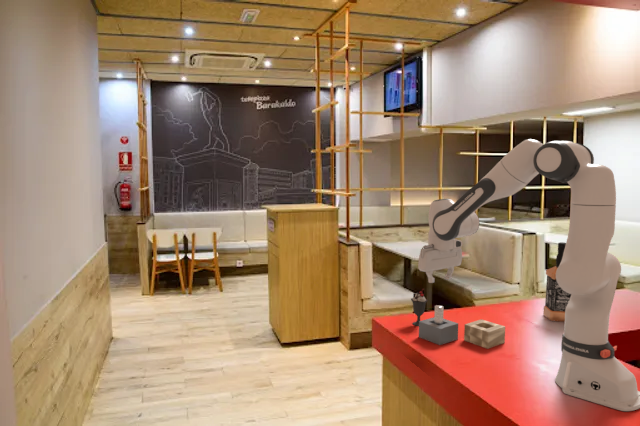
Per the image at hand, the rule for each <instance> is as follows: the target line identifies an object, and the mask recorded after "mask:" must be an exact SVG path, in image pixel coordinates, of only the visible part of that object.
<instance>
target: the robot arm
mask: <svg viewBox="0 0 640 426" xmlns="http://www.w3.org/2000/svg"><path fill="white" fill-rule="evenodd" d="M538 175H541V176H543V177H545V178H547V179H549V180H553V181H556V182H560V183H562V184H565V183H567V184H568V185H569V187H570V209H569V210H570V211H569V223H568V225H569V228H568V233H567V239H566V241H565V243H566V245H565V249H564V253H563V257H562V261H561V263H560V265H559V267H558V268H557V271H556V280H557V283H558V285H559V286H560V287H561V289H563V290H564V291H565V292H567V293H569V294H571V297H570V300H569V303H568V305H567V306H566V309H565V322H564V327H563V328H564V329H563V334H562V336H561V345H560V346H561V350H560V351H561V359H560V363H559V368H558V370H557V371H558V372H557V373H556V376H555V378H554V381H555V383H556V384H557V385H558V386H559V387H560V389H561V390H562V393H564V394H565V395H568V396H572V397H575V398H578V399H582V400H584V401H588V402H590V403H591V402H592V403H594V404H598V405H601V406H605V407H608V408H611V409H614V410H618V411H621V412H632V411H635V410H639V409H640V391H639V390H638V383H637V380H636V379H637V378H636V376H635V374H634V373H633V372H631V371H630V370H629V369H628V368H627V367H626V366H625V365H624V364H623V363H622V362H621V361H620V360H619V359H617V358H616V357H615V352H616V351H617V348H618V345H614V346H613V345H612V344H611V343H610V341H609V326H610V314H611V310H612V306H613V302H614V298H615V294H616V290H617V285H618V281H619V278H620V275H621V271H622V265H621V263H620V261H619V259H618V258H617V257H616V256H615V255H614V254H612V253H610V252H608V251H609V248H610V244H611V241H612V239H613V237H614V235H615V228H616V227H615V225H616V223H615V222H616V207H617V205H616V204H617V192H616V191H617V189H616V180H615V176H614V173H613V170H612V169H611V168H610V167H608V166H606V165H603V164H597V163H595V158H594V154H593V152H592V151H591V149H590V148H589V147H587V146H586V145H584V144H582V143H579V142H573V141H570V140H552V141H548V142H545V143H542V141H539V140H537V139H532V138H528V139H524V140H523V141H521V142H520V143H519V144H517V145H516V146H515V147H513V148H512V149H511V150H510V151H509V152H508V153H506V154H505V155H504V156H503V157H502V159H500V161H498V162H497V163H496V164H495V165H494V166H493V167H492V169H490V170H489V172H488V173H486V174H485V176H483V177H482V178H481V179H480V180H478V182H477V183H476V184H475V185H473V186H471V188H470V189H468V190H467V191H466V192H465V193H463V195H461V197H459V199H457V200H456V201H454V200H453V199H451V198H440V199H434V200H432V201H431V202H430V205H429V210H428V226H429V230H428V236H427V237H428V238H427V239H428V241H427V242H428V243H427V245H423V246H422V247H421V249H420V251H419V257H418V267H417V268H418V270H419V271H420V272H424V273H425V274H426V276H427V280H428V281H427V282H428V283H429V284H433V283H435V279H436V278H435V277H434V276H433V274H434V271H439V270H440V271H441V270H444V269H447V271H446V273H445V277H444V278H445V280H451V279H452V278H453V277H452V276H453V273H454V271H455V267H460V266H461V264H462V261H463V250H462V247H463V241H462V240H460V239H461V238H466V237H470V236H473V235H475V234H476V233H477V231H478V230H479V228H480V219H479V215H478V214H477V212H476V211H478V209H480V208H482V206H484V205H486V204H488V203H490V202H493V201H495V200H501V199H504V198H508V197H510V196H511V197H512V196H513V195H515V194H517V193H518V192H520V191H521V190H522V189H524V188H525V187H526V186H527V185H528V184H529V183H531V181H532V180H533V179H534V178H536V177H537V176H538ZM459 238H460V239H459Z"/></svg>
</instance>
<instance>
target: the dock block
mask: <svg viewBox="0 0 640 426" xmlns="http://www.w3.org/2000/svg"><path fill="white" fill-rule="evenodd" d="M418 338H420V339H423V340H425V341H428V342H431V343H433V344H434V345H438V346H441V345H444V344H447V343H450V342H453V341H457V340H458V339H459V323H458V322H455V321H453V320H449V319H446V318H443V325H440V326H439V325H436V324H434V317H430V318H426V319H422V320H420V321H419V326H418Z"/></svg>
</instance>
